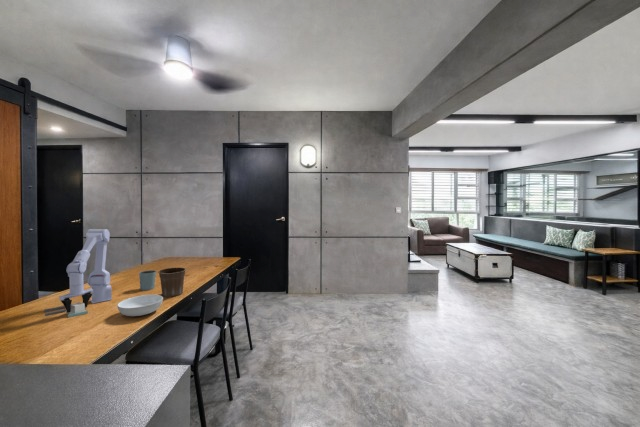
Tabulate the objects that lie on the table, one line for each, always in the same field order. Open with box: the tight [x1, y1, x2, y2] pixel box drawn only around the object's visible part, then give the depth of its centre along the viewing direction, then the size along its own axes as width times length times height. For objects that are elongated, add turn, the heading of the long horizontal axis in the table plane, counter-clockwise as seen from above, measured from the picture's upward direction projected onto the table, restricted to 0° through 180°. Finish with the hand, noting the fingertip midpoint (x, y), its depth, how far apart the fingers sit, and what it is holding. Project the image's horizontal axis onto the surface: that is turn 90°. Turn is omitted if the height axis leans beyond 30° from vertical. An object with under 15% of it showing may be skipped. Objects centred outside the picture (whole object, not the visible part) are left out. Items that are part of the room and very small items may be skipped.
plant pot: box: [157, 267, 187, 298], centre depth 182 cm, size 16×16×16 cm
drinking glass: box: [138, 269, 157, 291], centre depth 194 cm, size 10×10×12 cm
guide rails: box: [43, 305, 89, 318], centre depth 150 cm, size 16×20×1 cm
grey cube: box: [68, 301, 86, 315], centre depth 149 cm, size 4×5×5 cm
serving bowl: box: [117, 294, 164, 317], centre depth 150 cm, size 21×21×7 cm
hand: (77, 309), depth 149 cm, fingers open, 7 cm apart
